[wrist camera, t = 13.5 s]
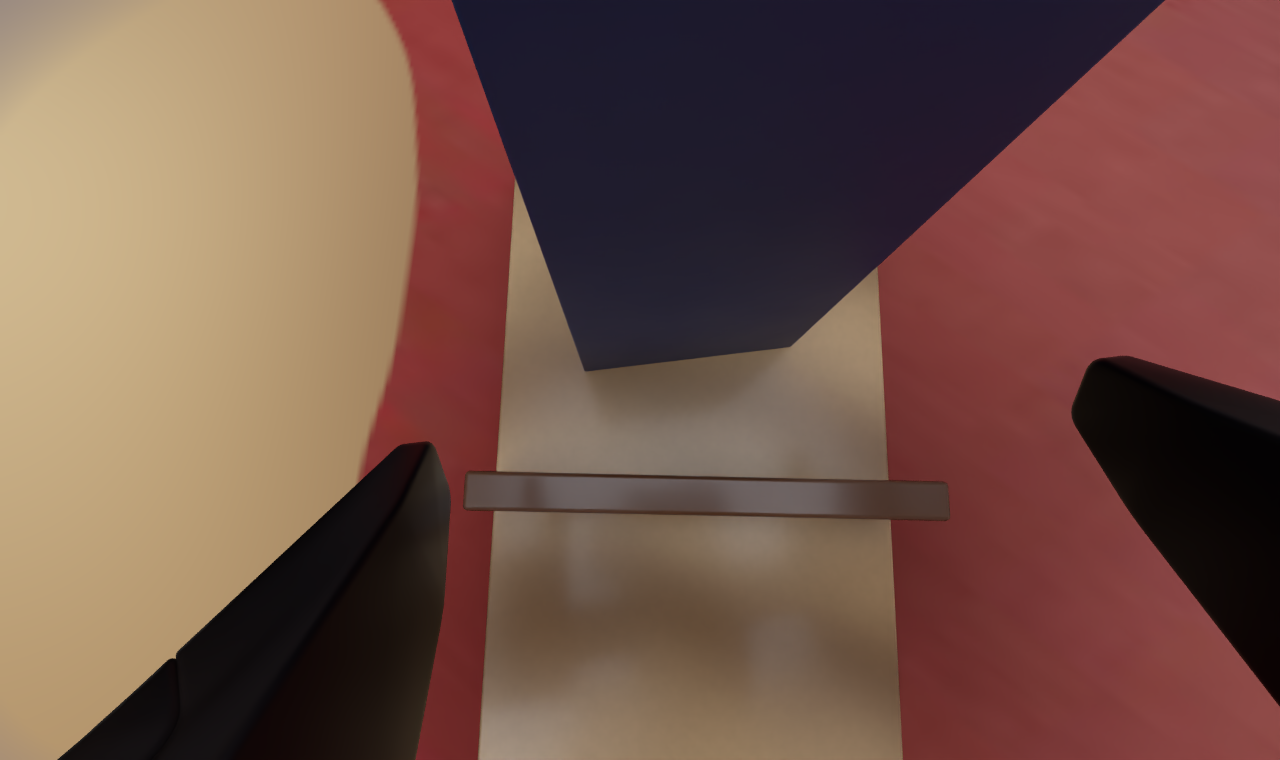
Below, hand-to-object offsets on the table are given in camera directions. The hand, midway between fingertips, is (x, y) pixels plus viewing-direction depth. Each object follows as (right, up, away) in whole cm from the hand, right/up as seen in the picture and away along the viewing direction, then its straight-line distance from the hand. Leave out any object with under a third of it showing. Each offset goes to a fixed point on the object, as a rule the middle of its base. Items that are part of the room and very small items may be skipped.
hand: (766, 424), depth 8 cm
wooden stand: (0, -1, +12) cm, 12 cm away
